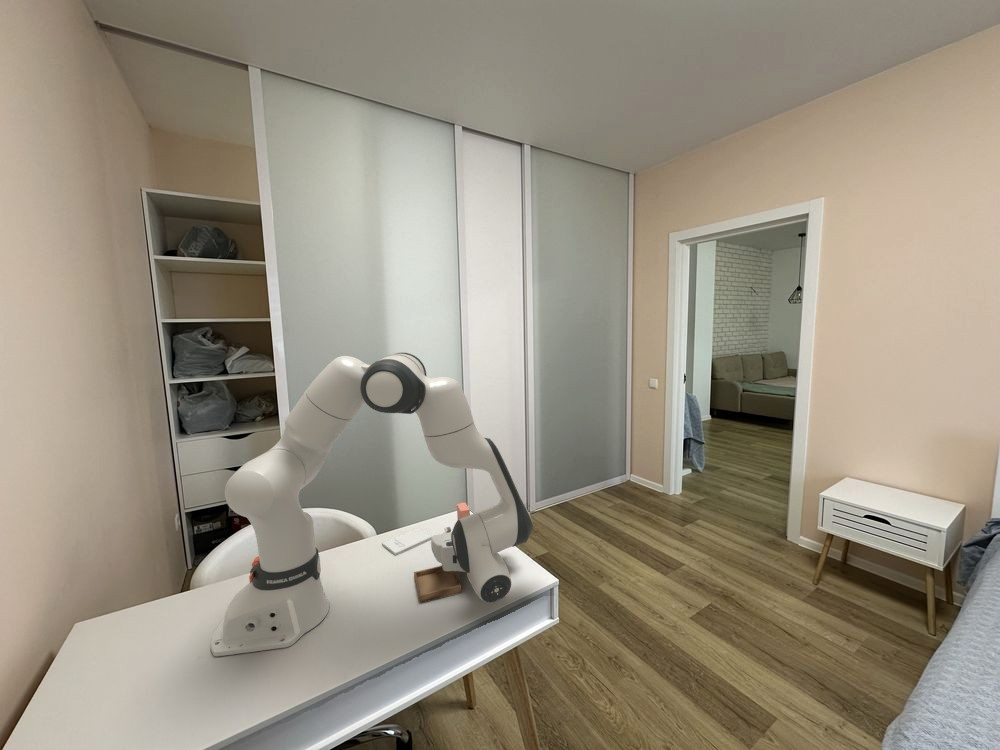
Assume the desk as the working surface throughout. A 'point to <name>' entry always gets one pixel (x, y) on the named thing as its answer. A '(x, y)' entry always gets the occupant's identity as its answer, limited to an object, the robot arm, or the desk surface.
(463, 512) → the pink rectangular bar
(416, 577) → the tray
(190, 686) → the desk surface
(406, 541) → the external hard drive
